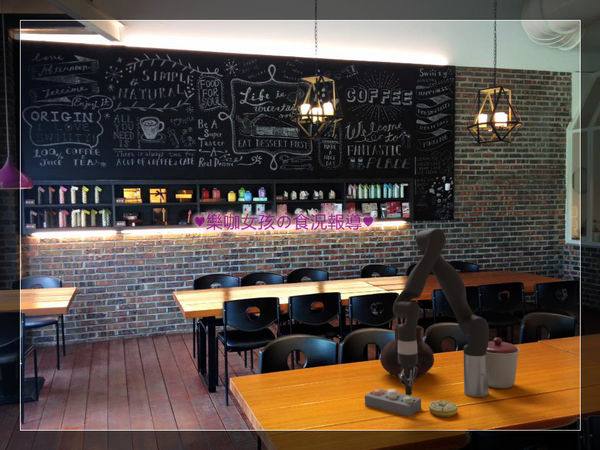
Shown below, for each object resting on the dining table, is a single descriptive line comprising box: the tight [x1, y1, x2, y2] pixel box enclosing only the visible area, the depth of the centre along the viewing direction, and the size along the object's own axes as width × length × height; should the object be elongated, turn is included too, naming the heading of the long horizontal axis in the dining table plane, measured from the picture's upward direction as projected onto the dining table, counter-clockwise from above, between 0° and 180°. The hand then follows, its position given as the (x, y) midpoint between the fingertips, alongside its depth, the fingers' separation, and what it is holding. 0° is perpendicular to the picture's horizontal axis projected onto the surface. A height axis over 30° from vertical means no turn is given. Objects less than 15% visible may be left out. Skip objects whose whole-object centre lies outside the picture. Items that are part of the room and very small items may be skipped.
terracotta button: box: [372, 388, 382, 396], centre depth 216 cm, size 4×4×4 cm
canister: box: [486, 337, 521, 390], centre depth 233 cm, size 18×18×21 cm
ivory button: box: [387, 388, 399, 400], centre depth 211 cm, size 4×4×4 cm
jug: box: [380, 324, 435, 379], centre depth 249 cm, size 25×25×25 cm
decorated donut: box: [428, 400, 458, 418], centre depth 204 cm, size 10×11×4 cm
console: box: [364, 387, 422, 417], centre depth 212 cm, size 20×10×4 cm, turn 50°
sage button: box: [403, 395, 414, 404], centre depth 207 cm, size 4×4×4 cm
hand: (408, 394), depth 207 cm, fingers closed
